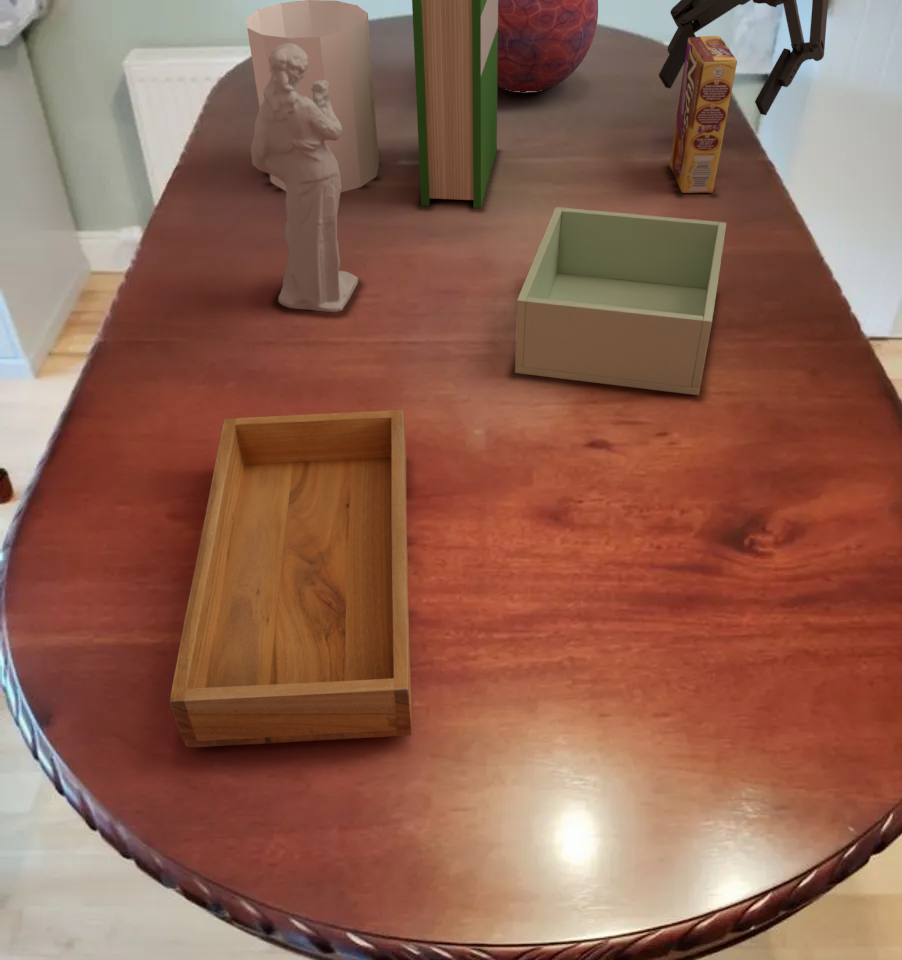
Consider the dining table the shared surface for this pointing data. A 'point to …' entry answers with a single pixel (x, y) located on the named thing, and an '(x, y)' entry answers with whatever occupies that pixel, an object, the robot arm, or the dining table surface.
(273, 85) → the figurine
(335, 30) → the container
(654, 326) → the bin
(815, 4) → the robot arm
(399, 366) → the dining table surface
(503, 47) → the decorative sphere
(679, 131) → the candy box
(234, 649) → the tray
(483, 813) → the dining table surface
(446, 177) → the hardback book
